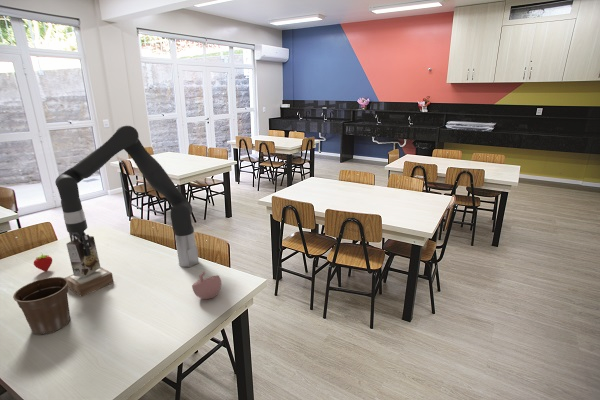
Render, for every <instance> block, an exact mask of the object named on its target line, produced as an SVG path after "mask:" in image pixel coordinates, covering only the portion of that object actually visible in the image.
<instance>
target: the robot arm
mask: <svg viewBox="0 0 600 400" xmlns="http://www.w3.org/2000/svg"><path fill="white" fill-rule="evenodd" d="M139 138H140V137H139V132H138V131H137V129H136V128H135V127H133V126H132V125H127V124H126V125H125V124H124V125H121V126H119V127H118V128H117V129H116V131H115V132H114V134H113V135H112V136H110V138H108V139H107V141H106V142H104V143H103V144H102V145H100V146H98V148H96V149H95V150H94V151H92V152H91V153H89V154H87V156H85V157H84V158H82V160H80V161H79V162H77V163H76V164H75V165H74V166H72V167H70V168H68V169H67V170H65V171H64V172H62V173H60V174H59V175H58V176H57V178H56V179H55V186H56V189H57V191H58V194H59V198H60V205H61V210H62V214H63V220H64V224H65V227H66V228H65V229H66V231H67V233H68V235H69V239H70V242H71V241H73V240H77V241H78V242H79V243H82V247H83V250H84V254H85V256H86V257H87V256H90V255H91V253H90V247H92V245H91V241H90V237H89V236H90V235H89V234H86V232H85V231H86V230H87V229H88V223H87V220H86V215H85V212H84V209H83V205H82V202H81V201H82V200H81V198H80V191H79V186H78V184H80V182H81V181H83V180H84V179H89V178H90V177H91V176H93V175H94V174H95V173H96V172H98V170H100V169H101V168H102V167H104V166H105V165H106V164H107V163H108V162H109V161H110V160H112V158H113V157H115V156H116V155H117V154H118V153H120V152H121V151H123V150H124V151H125V152H126V153H127V154H128V156H130V158H131V159H132V161H134V163H135V166H137V168H138V170H139V171H140V173H141V174H142V176H143V178H144V179H145V180H146V182H148V184H149V185H150V186H151V187H152V188H153V189H154V190H155V191H157V192H158V193H159V194H161V195H162V196H164V198H165V199H167V201H168V202H169V204H170V206H171V210H170V221H171V226H172V229H173V230H172V231H173V232H174V238H175V245H176V251H177V259H178V264H179V266H180V267H182V268H191V267H194V266H196V265H197V264H199V263H200V261H199V254H198V253H199V252H198V251H199V250H198V246H197V244H196V237H195V228H194V226H193V224H192V217H191V215H192V213H193V205H192V204H191V202H190V201H189V200H188V199H187V198H186V197H185V195H184V194H182V193H181V191H180V190H179V189H178V187H176V185H175V183H174V182H173V180H172V179H171V178H170V176H169V175H168V173H167V172H166V170H165V168H164V167H163V166H162V165H161V164H160V163H159V162H158V161H157V160H156V158H154V157H153V156H152V155H151V154H150V153H149V152H148V151H147V149H146V148H145V147H144V145H143V143H142V142H141V141H140V139H139ZM81 241H83V242H81ZM83 244H84V245H83ZM86 244H87V246H86Z"/></svg>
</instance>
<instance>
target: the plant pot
mask: <svg viewBox="0 0 600 400" xmlns="http://www.w3.org/2000/svg"><path fill="white" fill-rule="evenodd" d="M67 285H68V280H67V279H65V277H61V276H53V277H51V276H50V277H47V278H42V279H40V278H39V279H37V280H34V281H32V282H29V283H27V284H26V285H23V286H21V287H20V288H19V289H17V290H16V291H15V292H14V294H13V295H12V296H13V297H12V298H13V300H14V301H15V302H16V303H17V305H18V307H19V308H20V309H21V311H22V314H23V315H24V317H25V320H26V322H27V324H28V326H29V329H30V331H31V332H32V334H34V335H38V336H41V335H44V334H48V335H49V334H52V333H55V332H56V331H59V330H61V329H63V328H64V327H65V326H67V325H68V324H69V322H70V320H71V313H70V306H69V298H68V292H69V291H68V290H69V288H67Z"/></svg>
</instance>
